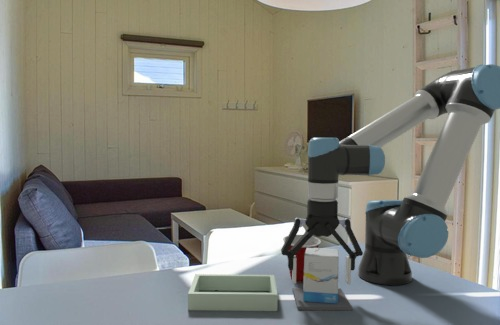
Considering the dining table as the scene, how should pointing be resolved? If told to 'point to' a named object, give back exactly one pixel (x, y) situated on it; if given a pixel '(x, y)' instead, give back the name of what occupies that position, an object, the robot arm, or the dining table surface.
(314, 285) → the ink box
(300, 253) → the plastic cup
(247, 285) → the bin
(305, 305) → the pad
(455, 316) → the dining table surface
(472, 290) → the dining table surface
